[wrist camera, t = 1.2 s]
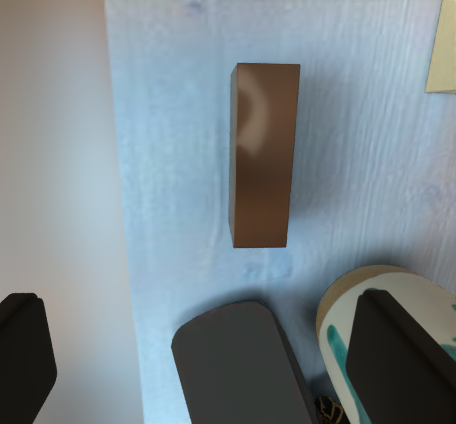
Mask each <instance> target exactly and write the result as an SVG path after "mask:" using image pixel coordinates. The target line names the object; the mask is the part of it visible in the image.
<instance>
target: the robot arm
mask: <svg viewBox="0 0 456 424" xmlns="http://www.w3.org/2000/svg"><path fill="white" fill-rule="evenodd" d="M345 369H346V373H347V376H348V378H349V380H350V382H351V384H352V386H353V388H354V390H355V392H356V394H357V396H358V398H359V400H360V402H361V404H362V406H363V408H364V410H365V412H366V414H367V416H368V418H369V419H370V421H371V423H372V424H456V361H455V360H454V359H453V358H452V357H451V356H450V355H449V354H448V353H447V352H446V351H445V350H444V349H443V348H442V347H441V346H440V345H439V344H438V343H437V342H436V341H435V340H434V339H433V338H432V337H431V335H430V334H429V333H428V332H427V331H426V330H425V329H424V328H423V327H422V326H421V325H420V324H419V323H418V322H417V321H416V320H415V319H414V318H413V317H412V316H411V315H410V314H409V313H408V312H407V311H406V310H405V309H404V307H403V306H402V305H401V304H400V303H399V302H398V301H397V300H396V299H395V298H394V297H393V296H392V295H391V294H390V293H389V292H388V291H387V290H365V291H364V292H363V295H359V296H358V299H357V304H356V310H355V315H354V320H353V325H352V331H351V336H350V341H349V346H348V352H347V357H346V362H345ZM56 377H57V368H56V363H55V358H54V353H53V348H52V343H51V337H50V333H49V328H48V322H47V317H46V312H45V307H44V302H43V300H42V299H41V298H38V297H37V295H36V294H34V293H12V294H10V295H8V296H7V297H6V298H5V299H4V300H3V301H2V302H1V303H0V424H33V422H34V420H35V418H36V416H37V415H38V413H39V411H40V409H41V407H42V406H43V404H44V402H45V400H46V398H47V397H48V395H49V393H50V391H51V390H52V388H53V386H54V384H55V381H56Z"/></svg>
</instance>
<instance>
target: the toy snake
mask: <svg viewBox="0 0 456 424" xmlns="http://www.w3.org/2000/svg"><path fill="white" fill-rule="evenodd" d="M314 403H315V405H317V408H318V411H319V413H320V416H321V419H322V421H323V424H351V423H350V421H349V419H348V417H347V415H346V413H345V411H344V408H343V406H341V405H340V404H339V403H337V402H336V401H335V400H333V399H332V398H331V397H330V396H319V397H317V398H316V400H315V402H314Z"/></svg>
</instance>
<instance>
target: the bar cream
mask: <svg viewBox="0 0 456 424" xmlns="http://www.w3.org/2000/svg"><path fill="white" fill-rule="evenodd" d="M425 92H426V93H456V0H443V2H442V7H441V12H440V17H439V22H438V27H437V32H436V38H435V43H434V48H433V53H432V58H431V63H430V68H429V73H428V78H427V83H426V89H425Z"/></svg>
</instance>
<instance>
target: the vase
mask: <svg viewBox="0 0 456 424" xmlns="http://www.w3.org/2000/svg"><path fill="white" fill-rule="evenodd" d="M365 290H387V291H388V292H389V293H390V294H391V295H392V296H393V297H394V298H395V299H396V300H397V301H398V302H399V303H400V304H401V305H402V306H403V307H404V309H405V310H406V311H407V312H408V313H409V314H410V315H411V316H412V317H413V318H414V319H415V320H416V321H417V322H418V323H419V324H420V325H421V326H422V327H423V328H424V329H425V330H426V331H427V332H428V333H429V334H430V335H431V337H432V338H433V339H434V340H435V341H436V342H437V343H438V344H439V345H440V346H441V347H442V348H443V349H444V350H445V351H446V352H447V353H448V354H449V355H450V356H451V357H452V358H453V359H454V360H455V361H456V297H455V296H454V295H452V294H451V293H449V292H448V291H446V290H445V289H443V288H441V287H440V286H438V285H437V284H435V283H433V282H432V281H430V280H428V279H426V278H424V277H423V276H421V275H419V274H417V273H415V272H413V271H410V270H407V269H404V268H401V267H397V266H391V265H369V266H363V267H360V268H357V269H354V270H352V271H350V272H347V273H346V274H344V275H343V276H341V277H340V278H338V279H337V280H336V281H335V282H334V283H333V284H332V285H331V286H330V287H329V288H328V289H327V291H326V292H325V294H324V295H323V297H322V299H321V302H320V304H319V308H318V311H317V317H316V333H317V340H318V343H319V347H320V350H321V354H322V357H323V360H324V363H325V366H326V368H327V371H328V374H329V376H330V379H331V381H332V384H333V386H334V388H335V391H336V393H337V395H338V397H339V400H340V402H341V404H342V406H343V408H344V411H345V413H346V415H347V417H348V419H349V421H350V423H351V424H372V423H371V421H370V419H369V418H368V416H367V414H366V412H365V410H364V408H363V406H362V404H361V402H360V400H359V398H358V396H357V394H356V392H355V390H354V388H353V386H352V384H351V382H350V380H349V378H348V376H347V373H346V369H345V362H346V357H347V352H348V346H349V341H350V336H351V331H352V325H353V320H354V315H355V310H356V304H357V299H358V296H359V295H363V292H364V291H365Z"/></svg>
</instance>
